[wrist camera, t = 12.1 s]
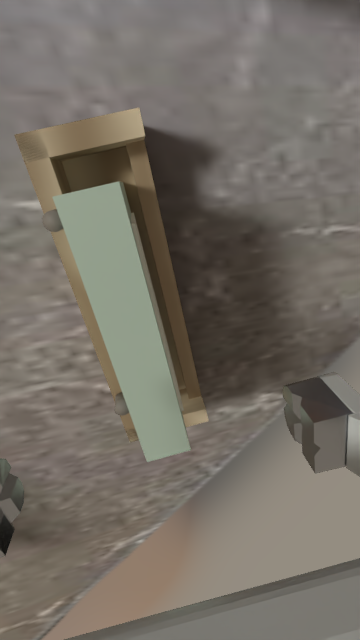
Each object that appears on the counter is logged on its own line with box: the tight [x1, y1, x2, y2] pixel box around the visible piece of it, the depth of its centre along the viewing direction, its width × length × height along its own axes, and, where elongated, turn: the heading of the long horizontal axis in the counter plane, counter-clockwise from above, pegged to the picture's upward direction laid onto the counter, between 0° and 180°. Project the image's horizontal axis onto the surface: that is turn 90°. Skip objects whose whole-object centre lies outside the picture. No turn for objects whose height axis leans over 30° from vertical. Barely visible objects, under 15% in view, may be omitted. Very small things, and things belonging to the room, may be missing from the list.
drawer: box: [15, 108, 208, 442], centre depth 20 cm, size 6×20×6 cm, turn 12°
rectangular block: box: [52, 181, 191, 462], centre depth 18 cm, size 3×14×8 cm, turn 12°
